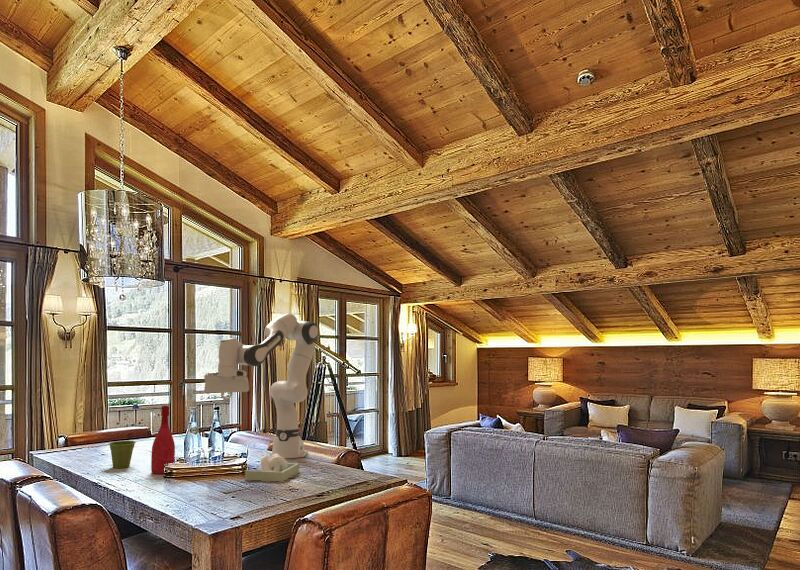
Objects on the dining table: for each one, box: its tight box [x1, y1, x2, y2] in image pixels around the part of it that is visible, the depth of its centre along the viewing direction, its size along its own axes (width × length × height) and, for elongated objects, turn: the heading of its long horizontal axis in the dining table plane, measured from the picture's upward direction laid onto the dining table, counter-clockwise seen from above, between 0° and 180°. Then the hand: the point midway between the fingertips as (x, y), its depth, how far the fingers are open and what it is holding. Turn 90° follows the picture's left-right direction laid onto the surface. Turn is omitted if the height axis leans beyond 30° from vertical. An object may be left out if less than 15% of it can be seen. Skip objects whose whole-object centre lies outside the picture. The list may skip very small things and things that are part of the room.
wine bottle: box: [150, 404, 176, 475], centre depth 272 cm, size 10×10×30 cm
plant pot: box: [108, 440, 137, 469], centre depth 283 cm, size 12×12×11 cm
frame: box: [244, 462, 300, 483], centre depth 265 cm, size 20×17×4 cm
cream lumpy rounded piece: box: [260, 454, 288, 472], centre depth 266 cm, size 11×12×9 cm
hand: (226, 401), depth 281 cm, fingers closed
